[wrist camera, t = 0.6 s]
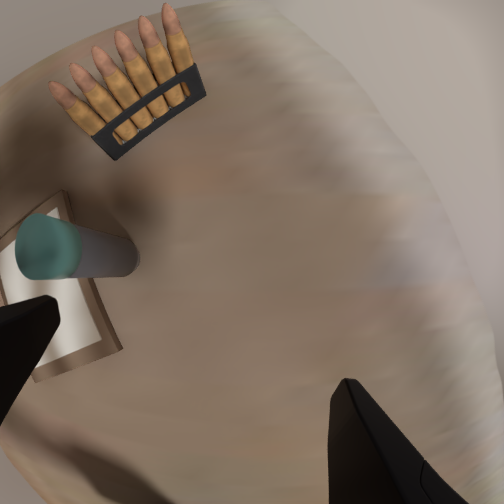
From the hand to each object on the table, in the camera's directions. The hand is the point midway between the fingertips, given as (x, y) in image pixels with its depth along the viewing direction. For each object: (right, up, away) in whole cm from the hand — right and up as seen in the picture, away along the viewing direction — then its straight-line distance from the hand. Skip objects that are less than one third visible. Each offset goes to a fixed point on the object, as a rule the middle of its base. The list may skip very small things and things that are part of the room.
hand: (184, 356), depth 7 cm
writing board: (-19, -1, +15) cm, 24 cm away
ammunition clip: (-7, +15, +17) cm, 24 cm away
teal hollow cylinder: (-9, +2, +15) cm, 18 cm away
